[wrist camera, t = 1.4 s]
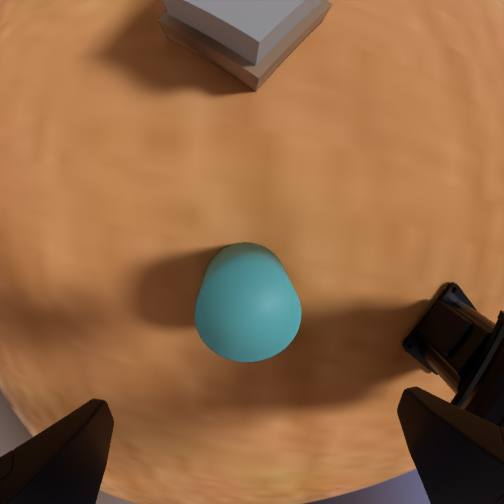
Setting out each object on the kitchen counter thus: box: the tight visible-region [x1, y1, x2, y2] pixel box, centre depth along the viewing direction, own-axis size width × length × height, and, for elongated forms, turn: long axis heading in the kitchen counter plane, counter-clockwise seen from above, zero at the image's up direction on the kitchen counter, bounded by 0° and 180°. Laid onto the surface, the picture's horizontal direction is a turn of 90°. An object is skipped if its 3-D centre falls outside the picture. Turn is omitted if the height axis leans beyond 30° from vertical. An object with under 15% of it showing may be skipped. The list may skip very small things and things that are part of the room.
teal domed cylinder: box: [194, 242, 301, 362], centre depth 16 cm, size 5×5×5 cm
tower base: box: [157, 0, 333, 92], centre depth 13 cm, size 7×7×3 cm
